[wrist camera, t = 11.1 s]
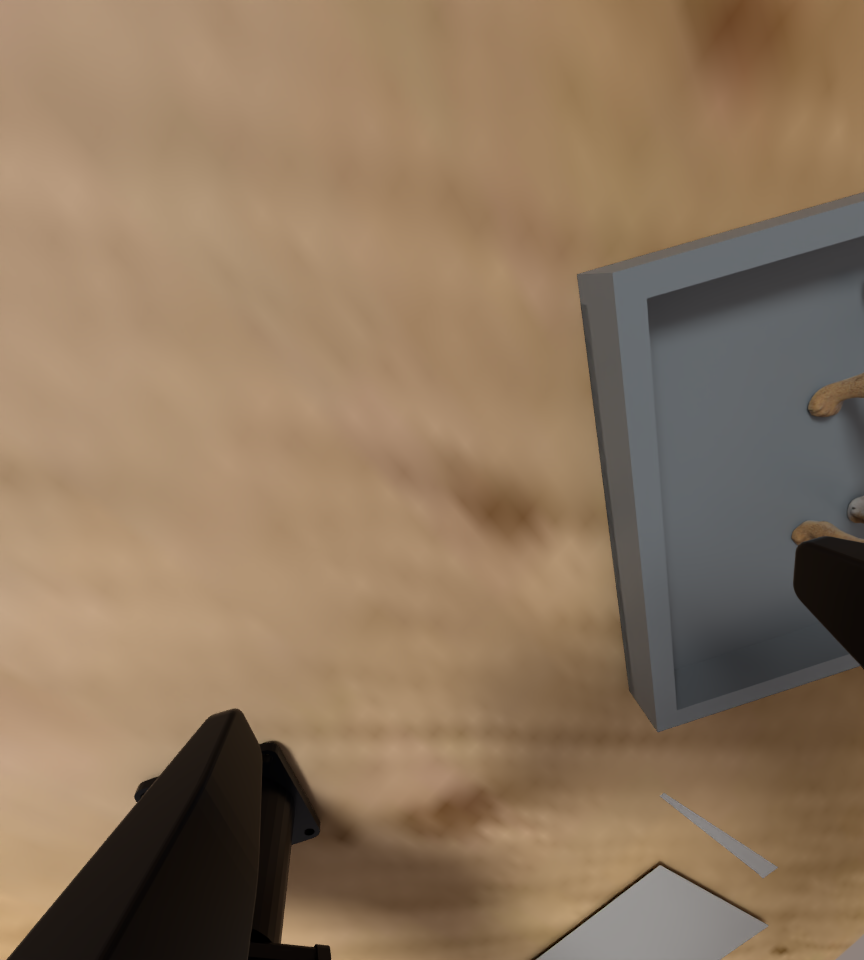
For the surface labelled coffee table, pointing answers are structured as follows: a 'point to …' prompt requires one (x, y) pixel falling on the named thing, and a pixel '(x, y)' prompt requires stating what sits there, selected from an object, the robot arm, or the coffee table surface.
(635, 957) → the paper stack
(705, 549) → the tray
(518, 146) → the coffee table surface
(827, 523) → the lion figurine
